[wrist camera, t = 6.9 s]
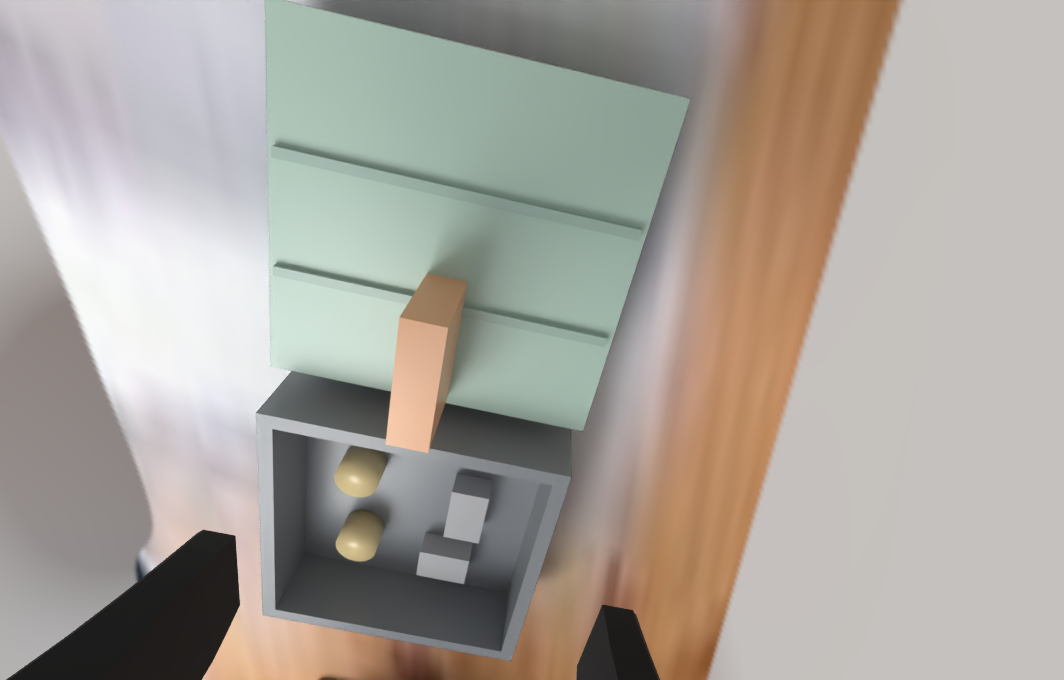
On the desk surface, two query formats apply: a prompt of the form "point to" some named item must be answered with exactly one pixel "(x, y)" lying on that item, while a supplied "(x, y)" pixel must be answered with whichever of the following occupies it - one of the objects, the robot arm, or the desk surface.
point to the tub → (404, 517)
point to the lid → (451, 217)
